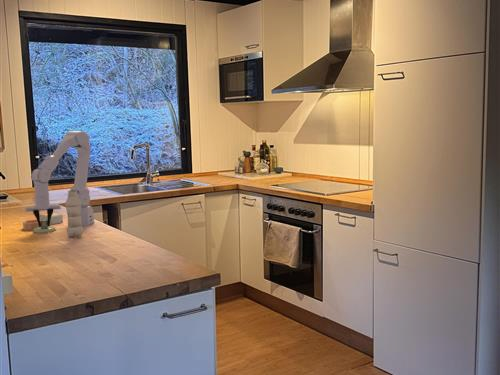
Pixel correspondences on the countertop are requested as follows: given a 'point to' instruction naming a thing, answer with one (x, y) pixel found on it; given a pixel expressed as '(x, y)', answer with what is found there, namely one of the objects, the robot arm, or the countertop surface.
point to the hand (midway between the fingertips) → (44, 226)
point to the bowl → (30, 224)
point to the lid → (44, 227)
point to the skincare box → (52, 218)
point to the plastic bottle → (74, 214)
